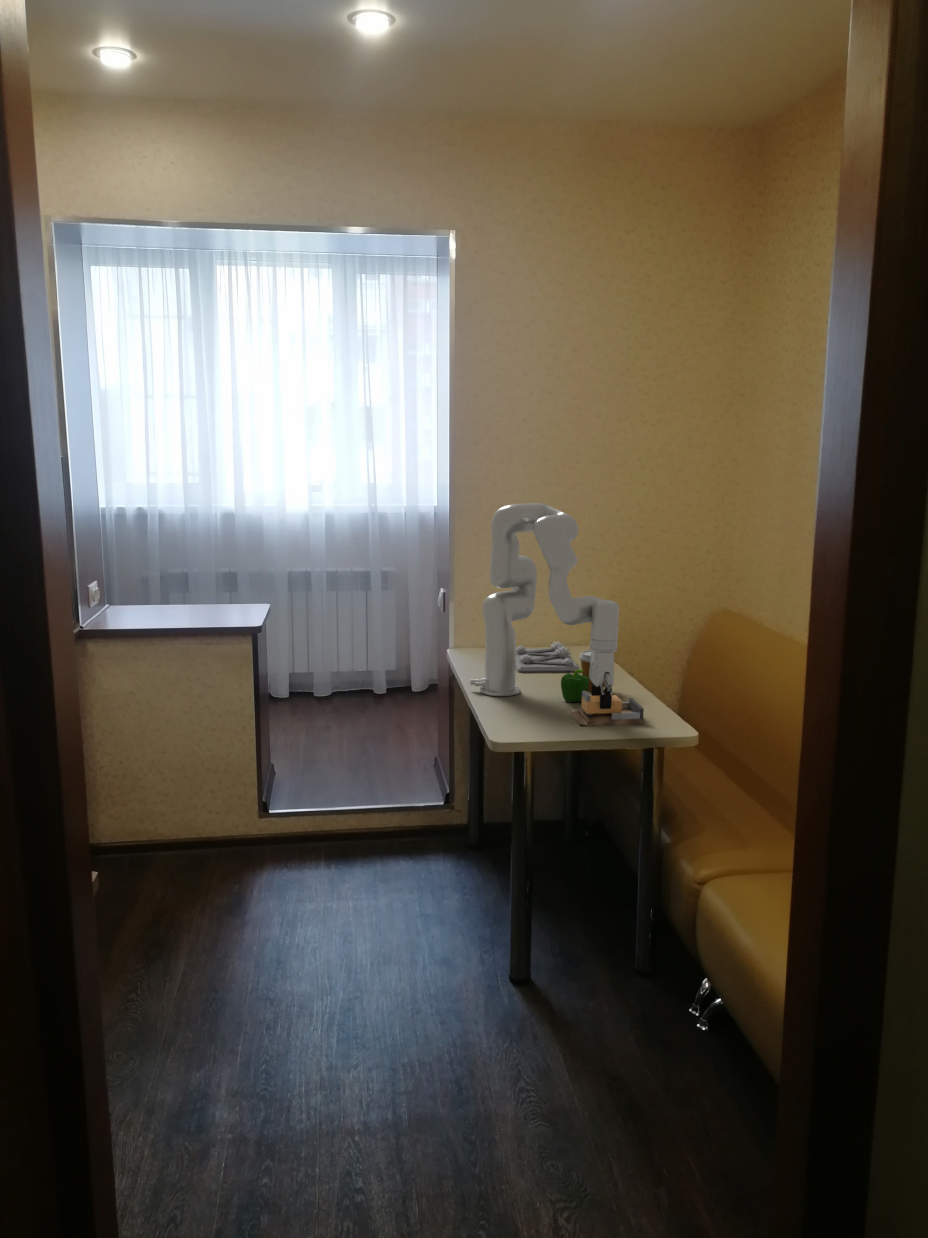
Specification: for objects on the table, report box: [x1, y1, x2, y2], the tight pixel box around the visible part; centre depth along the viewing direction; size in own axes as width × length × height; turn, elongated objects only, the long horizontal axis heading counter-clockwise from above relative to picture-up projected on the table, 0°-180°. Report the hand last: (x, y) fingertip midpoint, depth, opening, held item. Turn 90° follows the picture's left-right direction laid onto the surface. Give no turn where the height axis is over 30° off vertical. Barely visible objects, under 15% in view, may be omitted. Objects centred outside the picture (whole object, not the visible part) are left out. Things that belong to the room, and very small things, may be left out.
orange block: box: [581, 691, 623, 717], centre depth 265 cm, size 10×6×6 cm, turn 96°
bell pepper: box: [560, 668, 589, 703], centre depth 284 cm, size 8×8×10 cm
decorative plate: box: [515, 641, 581, 673], centre depth 333 cm, size 30×22×7 cm
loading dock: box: [570, 697, 645, 727], centre depth 265 cm, size 18×12×4 cm, turn 96°
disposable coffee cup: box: [579, 649, 605, 693], centre depth 296 cm, size 10×10×12 cm
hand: (600, 703), depth 265 cm, fingers open, 9 cm apart
